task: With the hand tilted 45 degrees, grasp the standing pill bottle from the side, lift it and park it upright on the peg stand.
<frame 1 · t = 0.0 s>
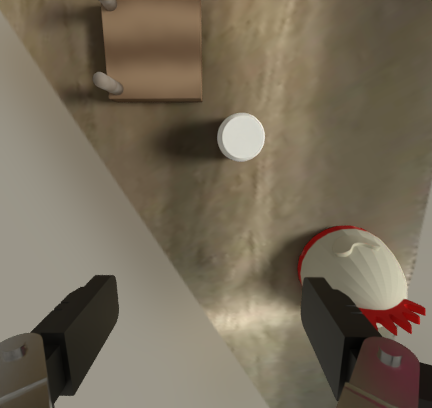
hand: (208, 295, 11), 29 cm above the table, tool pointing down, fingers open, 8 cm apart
pill bottle: (237, 138, 38), on the table
stand: (157, 55, 36), on the table
kitchen timer: (340, 265, 43), on the table
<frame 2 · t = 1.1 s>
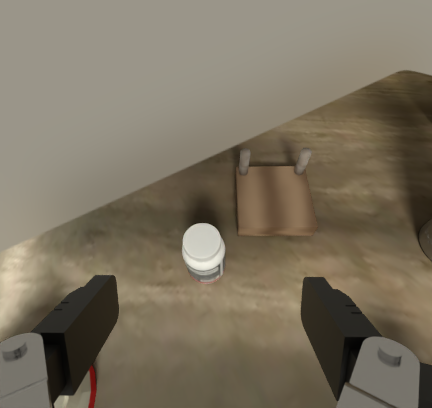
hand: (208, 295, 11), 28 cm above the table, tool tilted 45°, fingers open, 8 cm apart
pill bottle: (206, 266, 41), on the table
stand: (271, 204, 46), on the table
kitchen timer: (39, 403, 32), on the table
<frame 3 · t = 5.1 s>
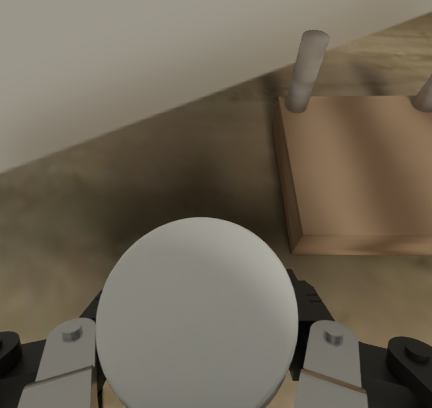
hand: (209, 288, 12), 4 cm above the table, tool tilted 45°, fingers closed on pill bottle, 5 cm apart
pill bottle: (212, 340, 15), on the table, touching gripper
stand: (359, 180, 20), on the table
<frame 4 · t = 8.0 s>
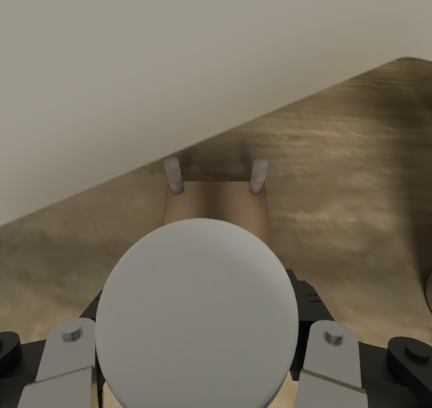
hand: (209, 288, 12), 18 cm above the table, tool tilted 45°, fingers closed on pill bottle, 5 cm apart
pill bottle: (212, 341, 15), point 13 cm above the table, touching gripper
stand: (216, 235, 32), on the table
when the fingers open (9 cm above the table, at t = 11.2 s): pill bottle drops 1 cm, resting on stand.
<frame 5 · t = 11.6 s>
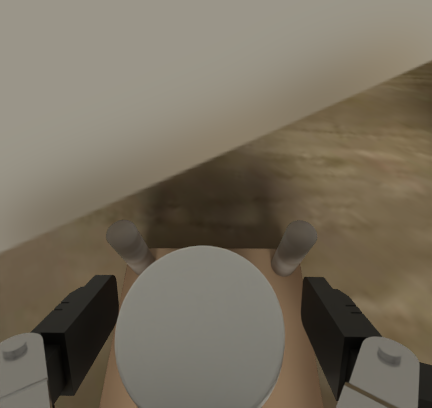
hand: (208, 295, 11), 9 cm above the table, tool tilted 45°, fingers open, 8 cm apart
pill bottle: (212, 346, 16), point 3 cm above the table, touching stand
stand: (213, 346, 18), on the table
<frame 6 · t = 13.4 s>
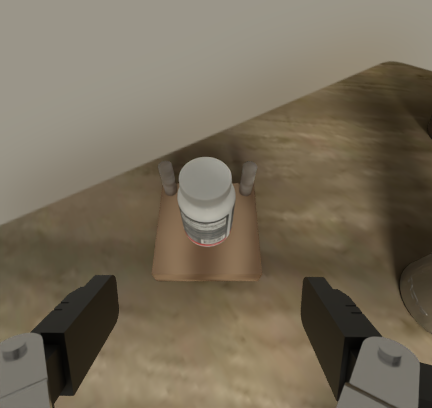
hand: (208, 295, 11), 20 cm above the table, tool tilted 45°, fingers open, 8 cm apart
pill bottle: (207, 226, 32), point 3 cm above the table, touching stand
stand: (208, 234, 34), on the table
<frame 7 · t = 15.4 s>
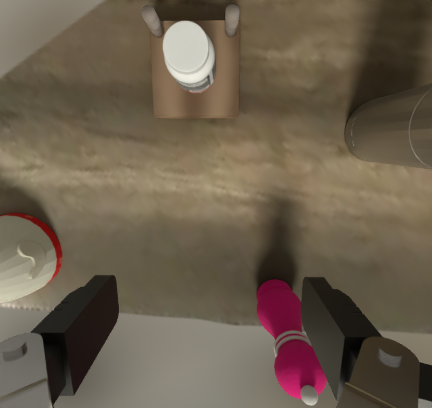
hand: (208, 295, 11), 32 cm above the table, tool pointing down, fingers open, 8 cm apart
pill bottle: (195, 72, 36), point 3 cm above the table, touching stand
pepper mill: (273, 294, 47), on the table
stand: (197, 75, 39), on the table
kitchen timer: (23, 250, 46), on the table
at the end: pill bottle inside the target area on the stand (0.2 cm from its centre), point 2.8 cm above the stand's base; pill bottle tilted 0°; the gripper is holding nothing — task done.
